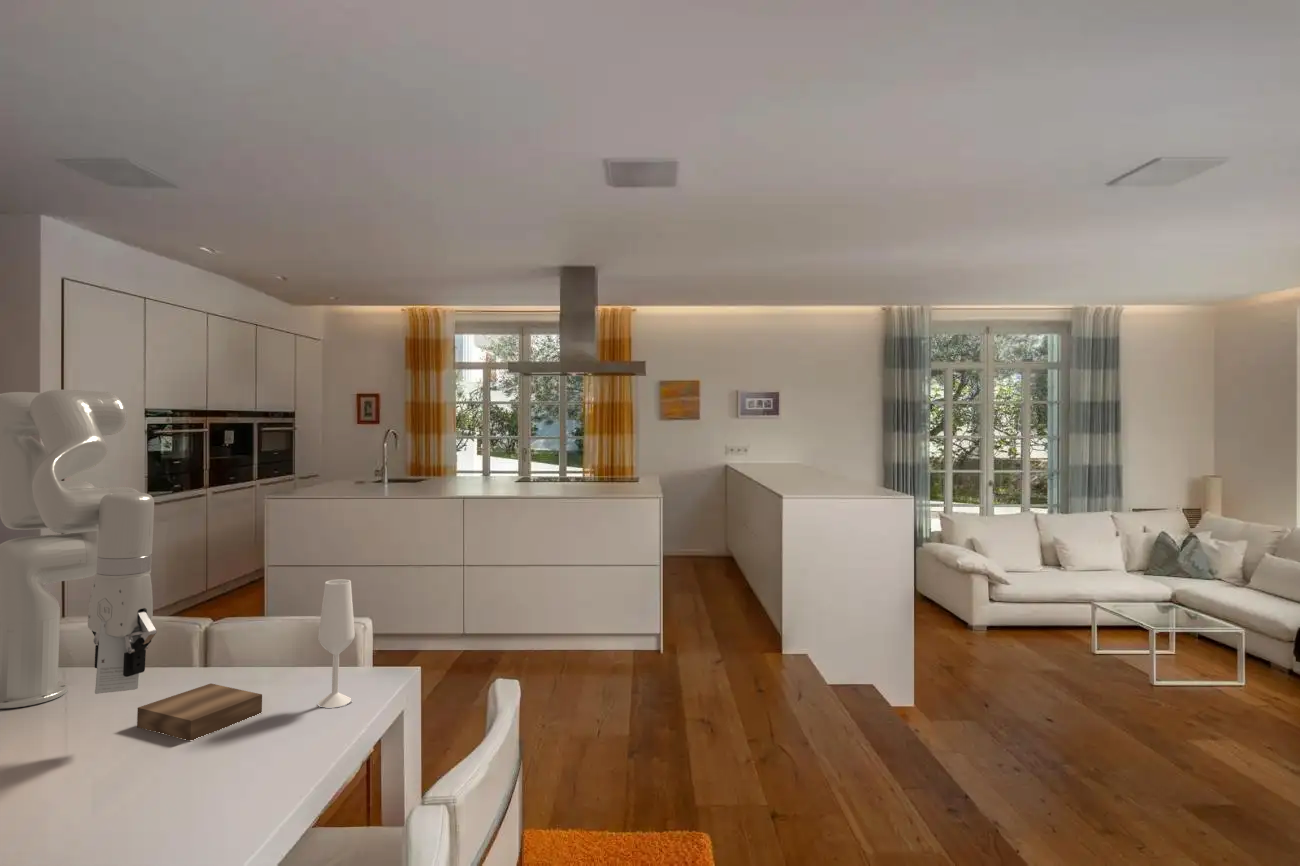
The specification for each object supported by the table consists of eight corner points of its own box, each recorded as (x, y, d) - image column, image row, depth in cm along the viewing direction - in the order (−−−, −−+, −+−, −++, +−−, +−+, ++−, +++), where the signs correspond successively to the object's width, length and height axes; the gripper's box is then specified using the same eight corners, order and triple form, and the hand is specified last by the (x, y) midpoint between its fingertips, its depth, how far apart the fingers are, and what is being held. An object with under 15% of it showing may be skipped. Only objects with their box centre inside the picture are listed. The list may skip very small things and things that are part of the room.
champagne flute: (312, 700, 144) (316, 580, 144) (347, 693, 148) (351, 577, 148) (320, 711, 138) (324, 586, 139) (357, 704, 142) (360, 583, 143)
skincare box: (94, 695, 119) (97, 622, 118) (96, 686, 122) (100, 615, 122) (140, 689, 122) (143, 618, 122) (141, 680, 126) (144, 611, 125)
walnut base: (136, 729, 129) (137, 707, 129) (210, 703, 142) (210, 683, 142) (190, 744, 124) (191, 720, 124) (261, 715, 137) (262, 694, 137)
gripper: (67, 562, 122) (62, 667, 122) (135, 576, 115) (130, 687, 115) (115, 555, 129) (110, 655, 129) (181, 568, 122) (176, 672, 122)
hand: (119, 669), depth 122 cm, fingers closed on skincare box, 6 cm apart
